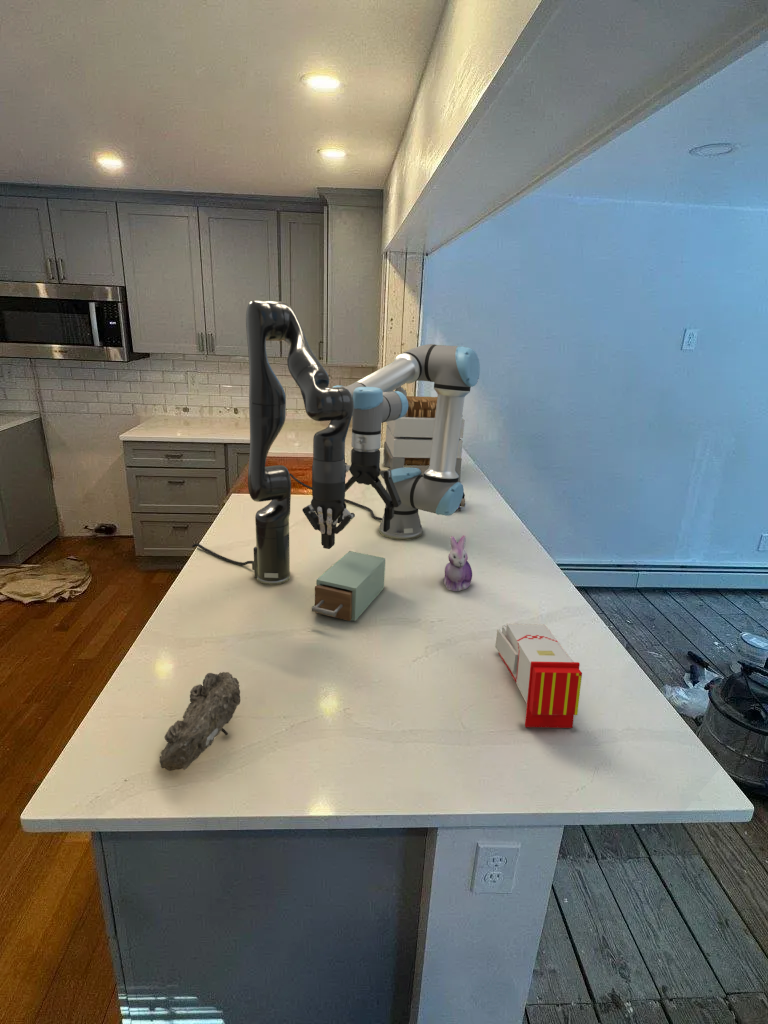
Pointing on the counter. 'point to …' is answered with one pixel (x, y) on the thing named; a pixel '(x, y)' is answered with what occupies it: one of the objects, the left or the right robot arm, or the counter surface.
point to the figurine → (457, 567)
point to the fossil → (201, 720)
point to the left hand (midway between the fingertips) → (328, 547)
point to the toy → (541, 674)
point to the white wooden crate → (414, 435)
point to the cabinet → (357, 578)
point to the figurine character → (462, 502)
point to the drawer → (333, 602)
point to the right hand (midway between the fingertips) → (363, 525)
